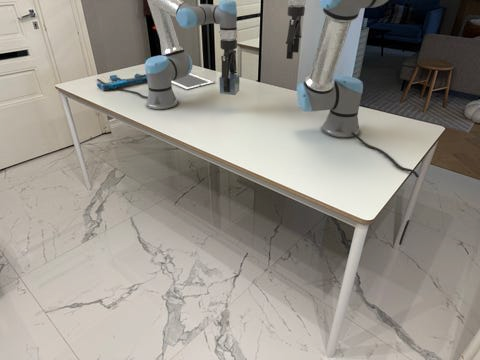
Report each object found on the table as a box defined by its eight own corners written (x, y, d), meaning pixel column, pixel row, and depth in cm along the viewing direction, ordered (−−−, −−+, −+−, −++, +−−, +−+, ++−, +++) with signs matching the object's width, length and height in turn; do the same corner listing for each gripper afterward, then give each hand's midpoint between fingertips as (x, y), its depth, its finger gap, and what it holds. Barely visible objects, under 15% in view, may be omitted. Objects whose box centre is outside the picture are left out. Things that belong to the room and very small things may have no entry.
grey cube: (239, 90, 167) (239, 74, 163) (234, 95, 162) (234, 78, 158) (224, 89, 169) (224, 73, 165) (219, 93, 164) (219, 77, 160)
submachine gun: (141, 68, 225) (159, 74, 208) (142, 74, 227) (160, 80, 210) (89, 78, 206) (104, 86, 190) (91, 84, 208) (106, 92, 192)
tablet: (159, 77, 217) (158, 76, 217) (185, 71, 228) (185, 71, 228) (186, 89, 197) (186, 89, 197) (214, 82, 208) (214, 82, 208)
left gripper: (228, 34, 161) (229, 82, 174) (212, 43, 145) (214, 95, 158) (243, 35, 159) (243, 84, 172) (228, 44, 143) (229, 96, 156)
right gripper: (294, 2, 162) (290, 49, 174) (281, 8, 142) (278, 60, 154) (309, 3, 160) (305, 50, 171) (299, 9, 140) (294, 62, 152)
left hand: (229, 89), depth 165 cm, fingers closed on grey cube, 7 cm apart
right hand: (292, 55), depth 163 cm, fingers open, 13 cm apart
